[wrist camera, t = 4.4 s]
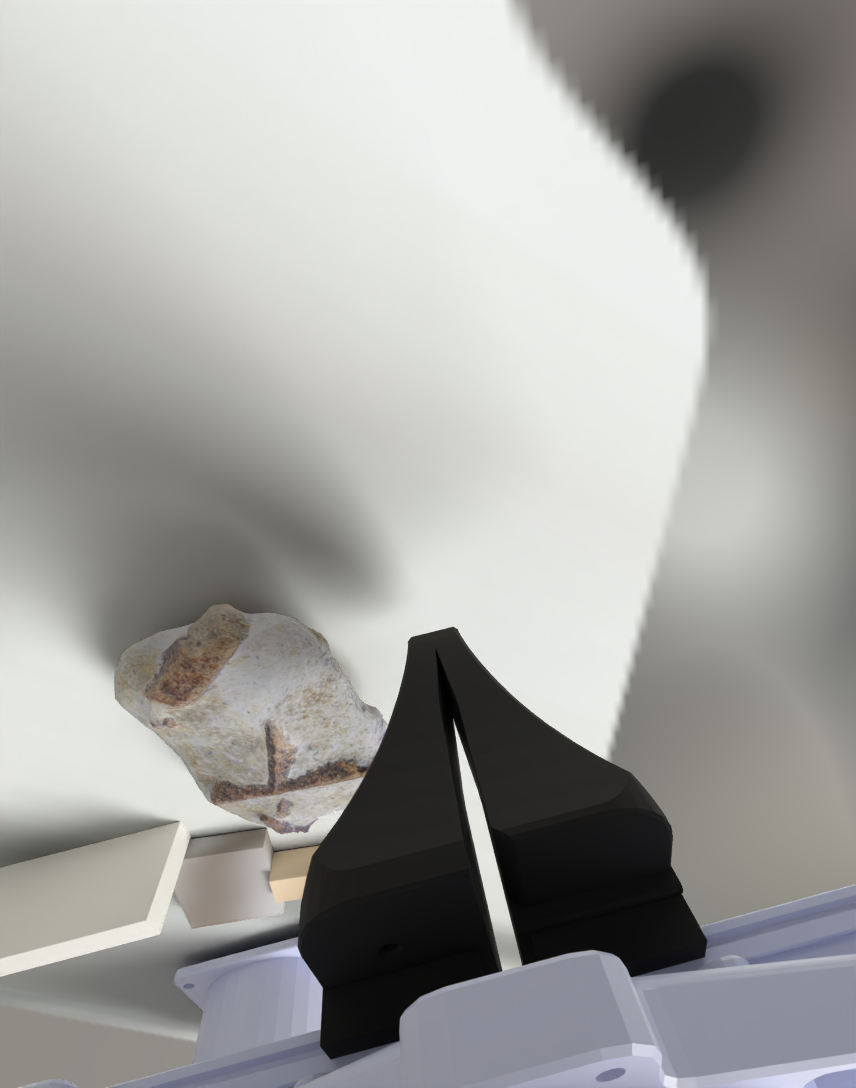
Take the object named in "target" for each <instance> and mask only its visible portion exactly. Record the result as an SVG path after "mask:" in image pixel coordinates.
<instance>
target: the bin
mask: <svg viewBox="0 0 856 1088" xmlns="http://www.w3.org/2000/svg"><path fill="white" fill-rule="evenodd" d="M190 837H191V835H190V833H189V832H188V831H187V829H186V828H185V827H184V825H183V824H182V823H181V821H179V822H175V823H171V824H168V825H164V826H160V827H156V828H152V829H148V830H144V831H140V832H137V833H133V834H129V835H125V836H121V837H117V838H113V839H109V840H106V841H102V842H98V843H94V844H90V845H86V846H82V847H78V848H75V849H71V850H67V851H63V852H59V853H55V854H51V855H47V856H44V857H40V858H36V859H32V860H28V861H24V862H20V863H16V864H13V865H9V866H5V867H1V868H0V977H1V976H5V975H9V974H13V973H16V972H20V971H24V970H28V969H31V968H35V967H39V966H43V965H47V964H50V963H54V962H58V961H62V960H66V959H69V958H73V957H77V956H81V955H84V954H88V953H92V952H96V951H100V950H103V949H107V948H111V947H115V946H118V945H122V944H126V943H130V942H134V941H137V940H141V939H145V938H149V937H153V936H156V935H160V933H161V929H162V926H163V923H164V920H165V917H166V913H167V910H168V907H169V904H170V901H171V898H172V894H173V891H174V888H175V885H176V882H177V878H178V875H179V872H180V869H181V866H182V863H183V859H184V856H185V853H186V850H187V847H188V843H189V840H190Z"/></svg>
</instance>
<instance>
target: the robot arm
mask: <svg viewBox="0 0 856 1088" xmlns="http://www.w3.org/2000/svg"><path fill="white" fill-rule="evenodd" d="M453 719H454V721H453ZM454 722H455V725H456V728H457V731H458V734H459V737H460V740H461V743H462V745H463V748H464V751H465V754H466V757H467V760H468V763H469V766H470V769H471V772H472V775H473V777H474V780H475V783H476V786H477V789H478V792H479V796H480V799H481V802H482V806H483V810H484V814H485V818H486V822H487V826H488V830H489V834H490V838H491V842H492V846H493V850H494V854H495V858H496V862H497V866H498V870H499V874H500V878H501V882H502V886H503V890H504V894H505V898H506V902H507V906H508V910H509V914H510V918H511V922H512V926H513V930H514V934H515V938H516V942H517V946H518V950H519V954H520V958H521V962H522V966H520V967H516V968H513V969H509V970H505V971H502V967H501V963H500V958H499V954H498V950H497V945H496V941H495V936H494V932H493V928H492V923H491V919H490V914H489V910H488V905H487V901H486V897H485V892H484V888H483V883H482V879H481V874H480V870H479V866H478V861H477V857H476V852H475V848H474V843H473V839H472V834H471V830H470V825H469V821H468V816H467V812H466V807H465V801H464V795H463V788H462V781H461V773H460V766H459V758H458V751H457V743H456V736H455V729H454ZM672 840H673V835H672V828H671V825H670V824H669V822H668V821H667V818H666V816H665V815H664V813H663V812H662V810H661V809H660V808H659V806H658V805H657V803H656V802H655V801H654V799H653V798H652V797H651V796H650V794H649V793H648V792H647V791H646V789H645V788H644V787H643V786H642V785H641V784H640V782H639V781H638V780H637V779H636V778H635V777H634V776H633V775H632V774H631V773H630V772H628V771H626V770H624V769H622V768H620V767H618V766H616V765H614V764H612V763H610V762H608V761H606V760H604V759H603V758H601V757H599V756H597V755H595V754H593V753H592V752H590V751H588V750H587V749H585V748H583V747H582V746H580V745H578V744H576V743H575V742H573V741H572V740H570V739H569V738H567V737H566V736H564V735H563V734H561V733H560V732H558V731H557V730H555V729H554V728H552V727H551V726H549V725H548V724H547V723H545V722H544V721H543V720H541V719H540V718H539V717H537V716H536V715H535V714H534V713H532V712H531V711H530V710H529V709H527V708H526V707H525V706H524V705H523V704H521V703H520V702H519V701H518V700H517V699H516V698H515V697H513V696H512V695H511V694H510V693H509V692H508V691H507V690H506V689H505V688H504V687H503V686H502V685H501V684H500V683H499V682H498V681H497V680H496V679H495V678H494V677H493V676H492V675H491V674H490V673H489V672H488V670H487V669H486V668H485V667H484V666H483V665H482V664H481V662H480V661H479V660H478V659H477V658H476V656H475V655H474V654H473V653H472V651H471V650H470V649H469V647H468V646H467V644H466V643H465V642H464V640H463V638H462V637H461V635H460V633H459V631H458V629H456V628H454V627H450V628H446V629H442V630H438V631H434V632H430V633H426V634H422V635H418V636H414V637H411V638H410V640H409V641H408V653H407V660H406V665H405V670H404V675H403V679H402V683H401V687H400V691H399V694H398V698H397V701H396V704H395V707H394V710H393V713H392V716H391V719H390V722H389V724H388V727H387V729H386V732H385V734H384V737H383V739H382V741H381V744H380V746H379V748H378V750H377V753H376V755H375V757H374V759H373V761H372V763H371V765H370V767H369V769H368V771H367V773H366V774H365V776H364V778H363V780H362V782H361V784H360V785H359V787H358V789H357V790H356V792H355V793H354V795H353V797H352V798H351V800H350V802H349V803H348V805H347V807H346V808H345V810H344V812H343V813H342V815H341V816H340V818H339V819H338V821H337V822H336V824H335V825H334V826H333V828H332V829H331V830H330V832H329V833H328V835H327V836H326V837H325V839H324V840H323V842H322V843H321V844H320V846H319V847H318V848H317V850H316V851H315V852H314V854H313V855H312V858H311V861H310V865H309V869H308V873H307V877H306V882H305V886H304V891H303V896H302V902H301V910H300V922H299V934H298V937H296V938H292V939H288V940H284V941H280V942H277V943H273V944H269V945H265V946H262V947H258V948H254V949H250V950H247V951H243V952H239V953H235V954H232V955H228V956H224V957H220V958H217V959H213V960H209V961H205V962H202V963H198V964H194V965H190V966H187V967H183V968H180V969H179V970H178V971H176V974H175V977H174V983H175V985H176V986H177V987H178V988H179V989H180V990H181V991H182V992H184V993H185V994H186V995H187V996H188V997H189V998H190V999H191V1000H192V1001H193V1002H194V1003H195V1004H196V1005H197V1006H198V1007H199V1008H200V1009H201V1010H202V1011H203V1015H202V1019H201V1024H200V1029H199V1033H198V1038H197V1042H196V1047H195V1051H194V1056H193V1061H192V1064H191V1065H187V1066H184V1067H180V1068H176V1069H172V1070H168V1071H165V1072H161V1073H157V1074H154V1075H150V1076H146V1077H143V1078H139V1079H136V1080H132V1081H128V1082H124V1083H121V1084H117V1085H113V1086H109V1087H106V1088H856V884H854V885H850V886H847V887H843V888H839V889H836V890H832V891H828V892H824V893H821V894H817V895H813V896H810V897H806V898H802V899H799V900H795V901H791V902H788V903H784V904H780V905H777V906H773V907H769V908H766V909H762V910H758V911H754V912H751V913H747V914H744V915H740V916H736V917H733V918H729V919H725V920H722V921H718V922H714V923H710V924H707V925H703V926H699V924H698V923H697V921H696V919H695V917H694V916H693V914H692V912H691V910H690V908H689V907H688V905H687V903H686V901H685V899H684V897H683V896H682V894H681V893H683V888H682V885H681V883H680V881H679V879H678V877H677V876H676V874H675V872H674V870H673V869H672V867H671V854H672ZM18 1088H79V1087H78V1086H77V1085H75V1084H74V1083H72V1082H70V1081H66V1080H62V1079H51V1080H45V1081H40V1082H36V1083H33V1084H29V1085H25V1086H21V1087H18Z"/></svg>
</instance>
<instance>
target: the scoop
mask: <svg viewBox="0 0 856 1088" xmlns="http://www.w3.org/2000/svg"><path fill="white" fill-rule="evenodd" d="M319 846H320V845H319ZM319 846H313V847H306V848H299V849H293V850H286V851H279V852H273V848H272V845H271V842H270V838H269V835H268V831H267V828H265V829H258V830H251V831H244V832H237V833H230V834H224V835H217V836H210V837H203V838H196V839H190V840H189V843H188V847H187V850H186V853H185V856H184V859H183V863H182V866H181V869H180V872H179V875H178V878H177V882H176V885H175V888H174V892H175V895H176V897H177V899H178V901H179V903H180V905H181V907H182V909H183V911H184V913H185V915H186V917H187V919H188V922H189V924H190V926H191V928H192V929H193V928H199V927H205V926H211V925H218V924H224V923H230V922H236V921H242V920H248V919H254V918H260V917H266V916H272V915H278V914H284V906H285V901H291V900H297V899H302V896H303V891H304V886H305V882H306V877H307V873H308V869H309V865H310V861H311V858H312V855H313V854H314V852H315V851H316V850H317V848H318V847H319Z"/></svg>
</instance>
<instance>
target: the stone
mask: <svg viewBox="0 0 856 1088" xmlns="http://www.w3.org/2000/svg"><path fill="white" fill-rule="evenodd" d="M114 683H115V699H116V700H117V701H118V702H119V704H120V705H121V706H122V707H123V708H124V709H125V710H127V711H128V712H129V713H130V714H132V715H133V716H134V717H135V718H136V719H138V720H139V721H140V722H141V723H142V724H144V725H145V726H146V727H148V728H149V729H151V730H152V731H154V732H155V733H156V734H157V735H158V736H159V737H160V738H161V739H163V740H164V741H165V743H166V744H167V745H169V746H170V747H171V748H172V749H173V750H174V751H175V752H176V753H177V754H178V755H179V756H180V757H181V759H182V760H183V762H184V764H185V765H186V766H187V768H188V770H189V772H190V774H191V775H192V777H193V778H194V780H195V782H196V784H197V785H198V787H199V789H200V790H201V791H202V792H203V794H204V796H205V797H206V799H207V800H208V801H209V802H210V803H213V804H214V805H217V806H219V807H221V808H222V809H224V810H226V811H228V812H230V813H232V814H235V815H238V816H240V817H242V818H244V819H246V820H248V821H251V822H254V823H257V824H260V825H264V826H267V827H269V828H272V829H273V830H275V831H276V832H277V833H280V834H285V833H291V832H297V833H299V831H302V832H304V833H306V832H308V830H309V828H310V826H311V825H312V824H313V823H314V822H315V821H316V820H317V819H318V817H320V816H323V815H326V814H329V813H331V812H333V811H338V810H342V809H345V808H346V807H347V805H348V803H349V802H350V800H351V798H352V797H353V795H354V793H355V792H356V790H357V789H358V787H359V785H360V784H361V782H362V780H363V778H364V776H365V774H366V773H367V771H368V769H369V767H370V765H371V763H372V761H373V759H374V757H375V755H376V753H377V750H378V748H379V746H380V744H381V741H382V739H383V737H384V734H385V732H386V729H387V727H388V725H387V723H386V722H385V720H384V719H383V716H382V715H381V713H380V711H379V710H378V709H377V708H375V707H372V706H370V705H367V704H365V703H364V702H362V701H361V700H360V698H359V697H358V695H357V694H356V692H355V691H354V690H353V688H352V687H351V685H350V682H349V680H348V679H347V677H346V676H345V675H344V673H343V672H342V671H341V670H340V668H339V666H338V663H337V662H336V660H335V659H334V658H333V657H331V653H330V649H329V645H328V643H327V641H326V640H325V638H324V637H323V636H322V635H321V634H320V633H318V632H316V631H314V630H313V629H310V628H307V627H306V626H304V625H303V624H302V623H300V622H299V621H298V620H297V619H294V618H292V617H289V616H285V615H281V614H276V613H271V612H268V613H256V614H248V613H244V612H241V611H239V610H237V609H235V608H233V607H232V605H229V604H220V605H212V606H211V607H209V608H208V610H207V611H206V612H205V613H204V614H203V615H202V616H201V617H200V619H198V620H197V621H196V622H194V623H192V624H188V625H185V626H182V627H178V628H173V629H169V630H164V631H160V632H158V633H156V634H154V635H151V636H149V637H147V638H145V639H143V640H141V641H139V642H137V643H135V644H133V645H132V646H130V647H129V648H127V649H126V650H125V651H124V652H123V654H122V655H121V657H120V660H119V663H118V666H117V669H116V672H115V680H114Z"/></svg>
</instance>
